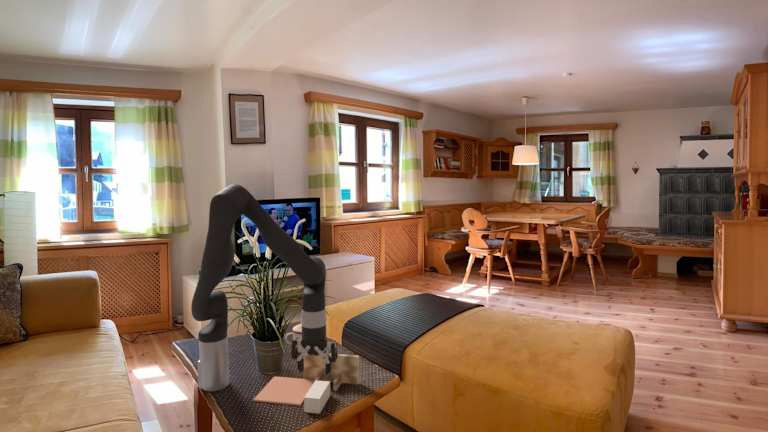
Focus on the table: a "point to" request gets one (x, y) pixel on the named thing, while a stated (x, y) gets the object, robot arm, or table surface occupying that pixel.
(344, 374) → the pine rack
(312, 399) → the white block
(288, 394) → the terracotta tile
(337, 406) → the table surface
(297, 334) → the teacup with lid
